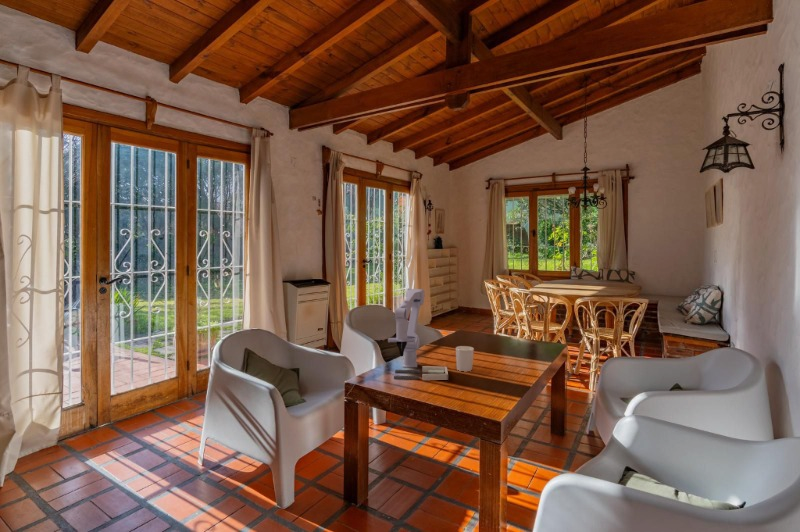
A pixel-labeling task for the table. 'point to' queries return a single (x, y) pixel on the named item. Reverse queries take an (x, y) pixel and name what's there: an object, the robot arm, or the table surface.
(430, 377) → the white u-shaped bracket
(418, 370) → the channel
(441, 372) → the chip
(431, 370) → the white small block
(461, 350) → the candle holder
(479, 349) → the table surface
